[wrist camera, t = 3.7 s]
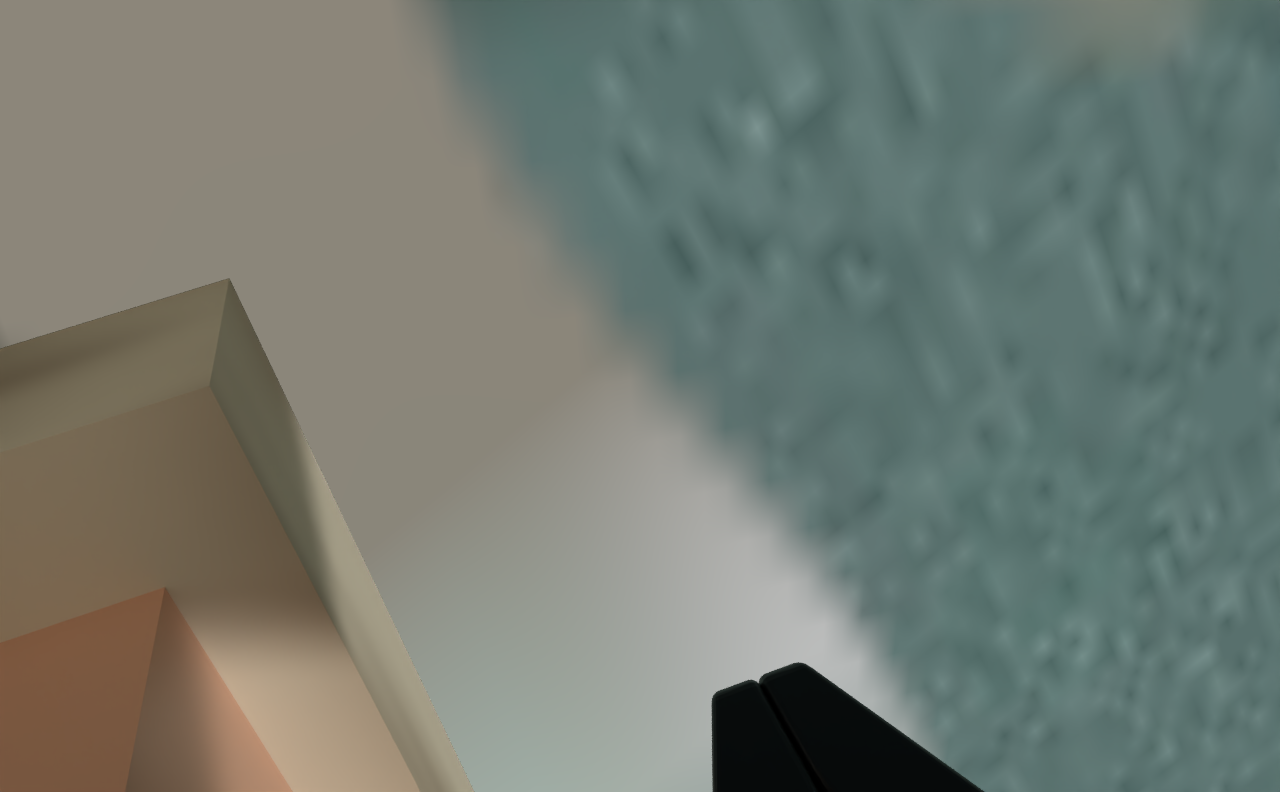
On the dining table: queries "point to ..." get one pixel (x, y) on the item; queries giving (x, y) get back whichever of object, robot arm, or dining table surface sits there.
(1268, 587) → the dining table surface
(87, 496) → the birch plate
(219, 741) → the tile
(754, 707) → the robot arm
